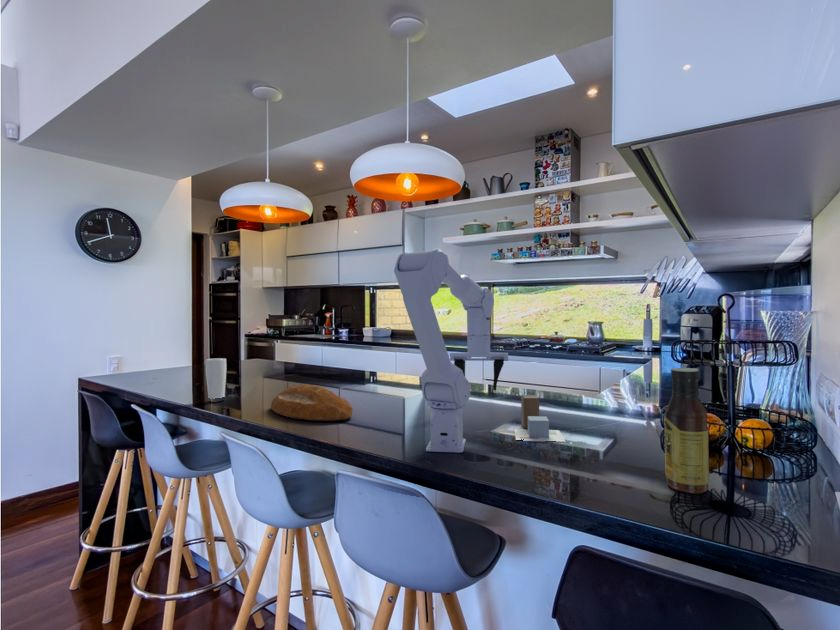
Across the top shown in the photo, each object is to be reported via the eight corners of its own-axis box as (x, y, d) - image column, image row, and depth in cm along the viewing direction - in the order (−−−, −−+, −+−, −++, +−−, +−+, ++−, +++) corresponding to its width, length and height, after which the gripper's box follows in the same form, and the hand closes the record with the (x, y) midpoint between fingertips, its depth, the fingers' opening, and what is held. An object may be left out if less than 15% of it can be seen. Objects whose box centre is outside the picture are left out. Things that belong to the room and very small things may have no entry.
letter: (565, 442, 102) (565, 441, 102) (516, 440, 104) (516, 440, 104) (559, 430, 112) (559, 430, 112) (514, 429, 114) (514, 429, 114)
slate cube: (549, 437, 105) (548, 420, 105) (529, 437, 106) (529, 420, 106) (546, 432, 110) (546, 416, 110) (527, 432, 111) (527, 416, 111)
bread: (319, 429, 118) (318, 395, 118) (254, 411, 142) (253, 383, 142) (369, 417, 131) (369, 387, 131) (302, 402, 155) (302, 377, 155)
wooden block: (521, 425, 118) (520, 395, 118) (536, 425, 118) (536, 394, 118) (524, 429, 114) (523, 397, 114) (539, 429, 114) (539, 397, 114)
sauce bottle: (669, 478, 79) (667, 365, 79) (711, 486, 75) (709, 367, 75) (661, 490, 74) (659, 369, 74) (706, 499, 70) (704, 372, 70)
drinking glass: (207, 400, 161) (206, 358, 161) (228, 399, 163) (227, 357, 163) (204, 404, 154) (203, 360, 154) (225, 402, 156) (225, 359, 156)
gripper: (507, 334, 116) (508, 387, 116) (451, 335, 119) (452, 386, 119) (507, 336, 109) (508, 391, 109) (448, 336, 112) (449, 390, 112)
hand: (479, 389), depth 114 cm, fingers open, 7 cm apart
